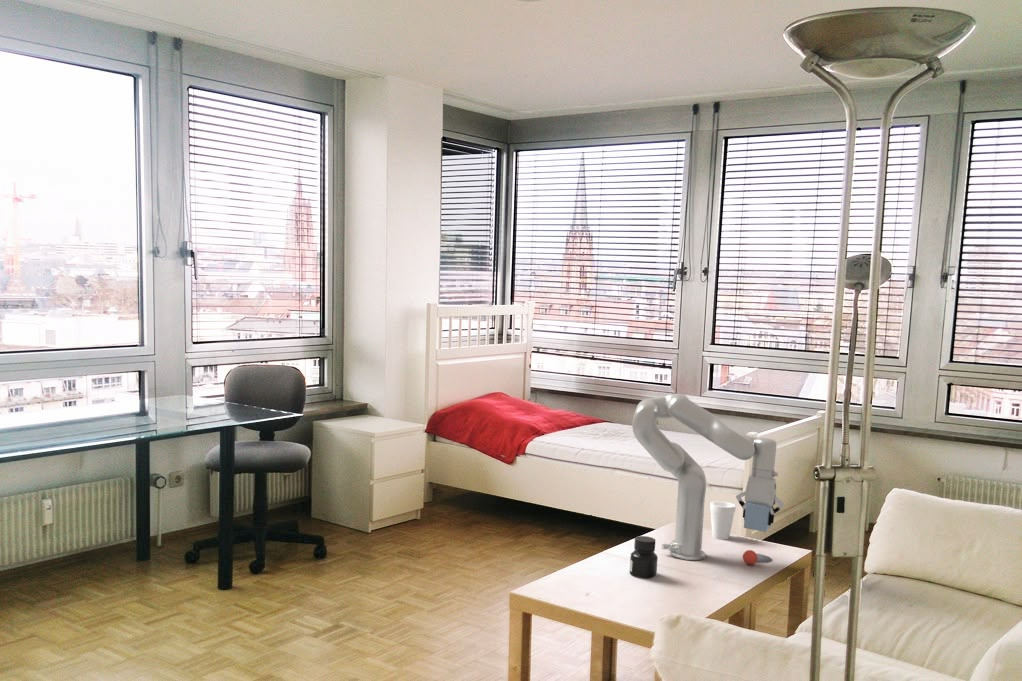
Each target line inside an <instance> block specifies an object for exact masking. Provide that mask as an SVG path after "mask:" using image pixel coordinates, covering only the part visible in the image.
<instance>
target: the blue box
mask: <svg viewBox="0 0 1022 681" xmlns="http://www.w3.org/2000/svg"><path fill="white" fill-rule="evenodd" d="M745 503H746V502H745ZM769 514H770V506H765V505H759V504H754V503H749V502H747V503H746V510H745V520H744V519H743V523H744V524H743V528H744V529H748V530H753V531H758V532H763V533H767V532H768V531H769V530H770V529H771V525H772V524H771V525H770V526H769V525H768V520H769Z"/></svg>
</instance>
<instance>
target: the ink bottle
mask: <svg viewBox="0 0 1022 681" xmlns="http://www.w3.org/2000/svg"><path fill="white" fill-rule="evenodd" d="M633 547H634V550H633V551H631V554H630V557H629V558H630V560H629V574H630V575H632V576H633V577H636V578H641V579H652V578H654V577H657V573H658V555H657V554H656V553H655V551H656V550H655V549H656V539H655V538H653V537H650V536H646V535H638V536H636V537H634V545H633Z"/></svg>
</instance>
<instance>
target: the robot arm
mask: <svg viewBox="0 0 1022 681" xmlns="http://www.w3.org/2000/svg"><path fill="white" fill-rule="evenodd" d="M634 411H635V412H634V413H633V417H632V426H631V427H632V431H633V435H634V437H635V439H636V440H637V441H638V443H639V444H640V445H641V446H642V447H643V449H644V450H646V452H647V453H648V454H649V455H650V456H651V457H652V458H653V460H655V462H656V463H658V465H659V466H660V467H661V468H662V469H663V470H664V471H666V472H669V473H671V474H672V476H674V477H675V479H676V480H677V481H678V483H677V484H678V486H677V487H678V488H677V499H676V501H677V502H676V519H675V520H676V521H675V535H674V540H672V541H671V542H670V543H662V544H661V549H662V550H667V551H669V554H670V555H671V556H673V557H675V558H677V559H681V560H686V561H687V560H688V561H699V560H701V561H702V560H704V559H705V558H706V552H705V551H704V550H702V545H703V534H704V533H703V532H704V531H703V530H704V529H703V528H704V517H705V516H704V514H705V513H704V512H705V503H706V501H705V500H706V499H705V498H706V492H707V479H706V475H705V471H704V470H703V468H702V467H701V465H700V464H699V463H698V462H697V461H695V459H694V458H693V457H692V456H691V455H690V454H689V453H688V452H687V451H686V450H685V448H683V447H682V446H681V445H680V444H678V443H677V442H673V441H670V440H669V439H668V437H667V436H666V435H665V434H664V433H663V432H662V431H661V430H660V429H659V428H658V426H657V421H660V420H663V419H664V420H665V419H670V418H673V419H674V420H676V421H678V422H679V423H681V424H683V425H685V426H686V427H688V428H689V429H691V430H693V431H694V432H696V433H697V434H699V435H701V436H702V437H703V438H704V439H706V440H708V441H710V442H711V443H713V444H714V445H716V446H717V447H718V448H720V449H722V450H723V451H724V452H727V453H728V454H730V455H731V456H733V457H735V458H736V459H738V460H741V461H748V460H750V459H752V465H751V471H750V472H751V473H750V474H749V475H748V476H749V477H748V478H747V481H746V488H745V491H743V492H741V493H739V494H737V495H736V496H735V498H736V500H737V501H738V503H739V505H740V506H741V508H742V509H743V510H742V518H743V521H744V520H745V510H746V503H747V502H749V503H754V504H759V505H765V506H770V514H769V520H768V525H769V526H770V525H772V524H773V523H774V522H775V514H776V513H777V512H779V511H780V510H781V509H782V508H783V507H785V503H784V502H783V501H782V500H781V499H779V497H777V479H776V478H775V477H778V476H779V472H776V471H775V463H776V453H777V441H776V440H774V439H773V438H772V439H771V438H767V437H755V436H750V435H746V434H739V433H738V432H736V431H734V430H733V429H732V428H730V427H728V425H726V424H725V423H723V421H721V420H720V418H719V417H718V416H717V415H715V414H713V413H712V412H710V411H708V409H707V410H706V409H705V408H703V407H702V406H700V405H698V404H697V403H695V402H693V401H692V400H690V399H689V398H688V396H687V395H686V394H682V393H673V394H667V395H663V396H657V397H656V396H655V397H649V398H646V399H642V400H641V401H640V402H638V404H637V406H636V408H635V410H634ZM742 497H744V500H743V499H742ZM775 504H777V505H778V506H776V507H774V505H775ZM770 527H771V526H770Z"/></svg>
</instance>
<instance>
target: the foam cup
mask: <svg viewBox="0 0 1022 681" xmlns="http://www.w3.org/2000/svg"><path fill="white" fill-rule="evenodd" d="M709 506H710V507H709V509H710V520H711V535H712V536H711V537H712V538H714V539H716V538H717V539H716V540H722V539H726V540H729V539H730V537H731V536H730V535H731V531H732V526H733V521H734V516H735V513H736V505H735V504H734V503H732V502H728V501H720V500H719V501H718V500H717V501H716V500H713V501H711V502H710V504H709Z"/></svg>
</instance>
